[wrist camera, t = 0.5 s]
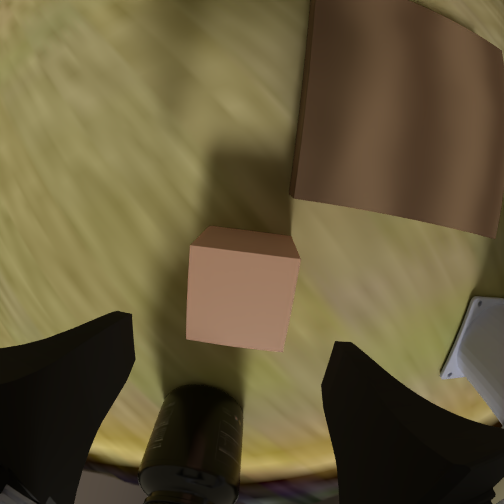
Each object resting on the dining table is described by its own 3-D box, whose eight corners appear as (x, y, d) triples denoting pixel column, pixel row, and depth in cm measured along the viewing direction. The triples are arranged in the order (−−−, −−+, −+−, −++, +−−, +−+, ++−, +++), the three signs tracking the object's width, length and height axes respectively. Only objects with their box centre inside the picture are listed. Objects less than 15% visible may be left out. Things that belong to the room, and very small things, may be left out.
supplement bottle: (187, 437, 23) (159, 543, 12) (151, 387, 22) (98, 503, 10) (256, 428, 22) (251, 548, 11) (226, 373, 21) (201, 515, 9)
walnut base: (479, 59, 13) (501, 50, 11) (470, 229, 17) (495, 239, 14) (310, -3, 13) (317, -27, 11) (288, 194, 17) (294, 198, 14)
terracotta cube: (290, 235, 18) (300, 259, 13) (278, 309, 19) (282, 352, 14) (209, 225, 18) (190, 245, 13) (203, 299, 19) (185, 339, 15)
